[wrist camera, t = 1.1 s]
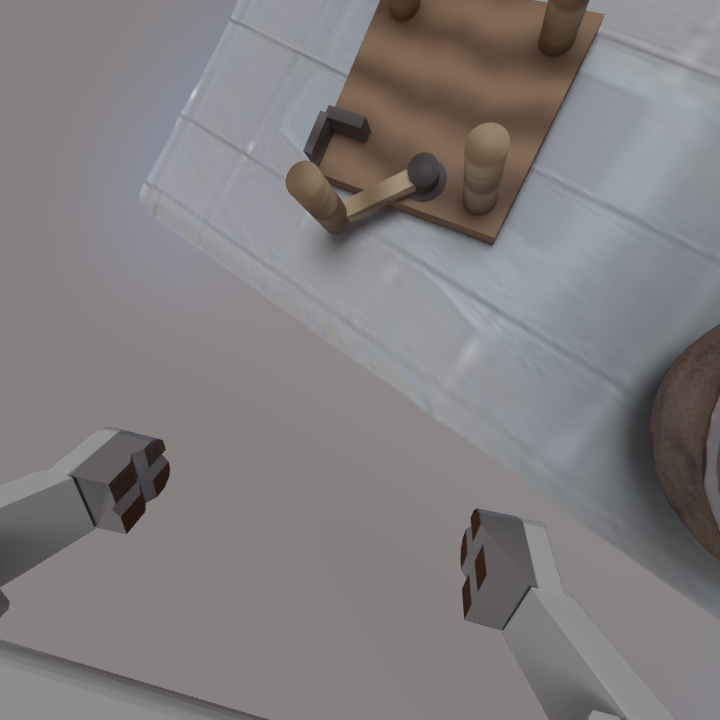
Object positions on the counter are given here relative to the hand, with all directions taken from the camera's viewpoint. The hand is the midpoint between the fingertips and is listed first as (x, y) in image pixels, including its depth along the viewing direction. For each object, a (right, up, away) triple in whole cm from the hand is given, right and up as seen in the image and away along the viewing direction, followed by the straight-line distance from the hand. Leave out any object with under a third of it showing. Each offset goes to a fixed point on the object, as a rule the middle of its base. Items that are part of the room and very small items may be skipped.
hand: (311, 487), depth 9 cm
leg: (+3, +20, +29) cm, 35 cm away
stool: (+10, +30, +30) cm, 43 cm away
